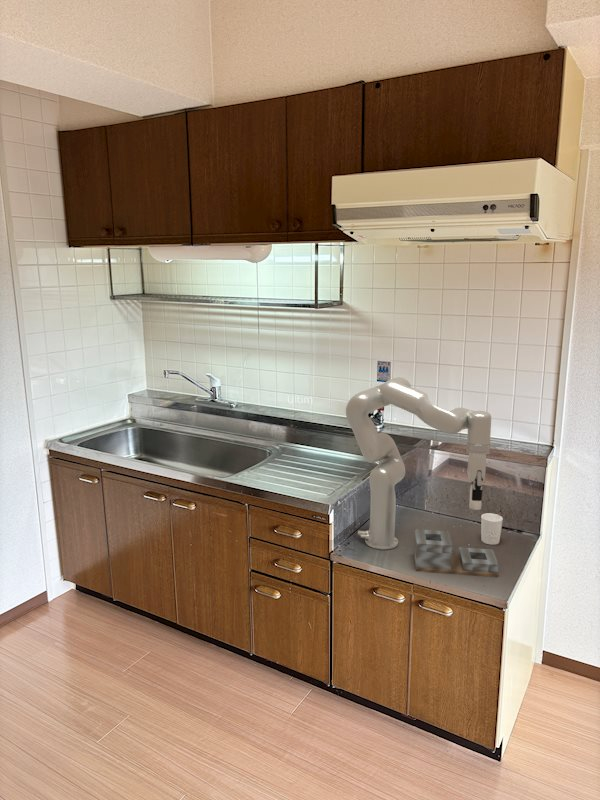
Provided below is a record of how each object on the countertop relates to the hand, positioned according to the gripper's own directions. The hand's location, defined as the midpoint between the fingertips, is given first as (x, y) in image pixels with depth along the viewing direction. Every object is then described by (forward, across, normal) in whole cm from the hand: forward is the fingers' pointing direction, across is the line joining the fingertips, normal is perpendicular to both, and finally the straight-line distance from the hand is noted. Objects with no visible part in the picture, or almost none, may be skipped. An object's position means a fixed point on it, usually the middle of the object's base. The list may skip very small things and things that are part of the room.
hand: (475, 497), depth 213 cm
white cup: (+26, -23, +10) cm, 36 cm away
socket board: (+26, 0, -6) cm, 27 cm away
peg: (+4, 0, 0) cm, 4 cm away
